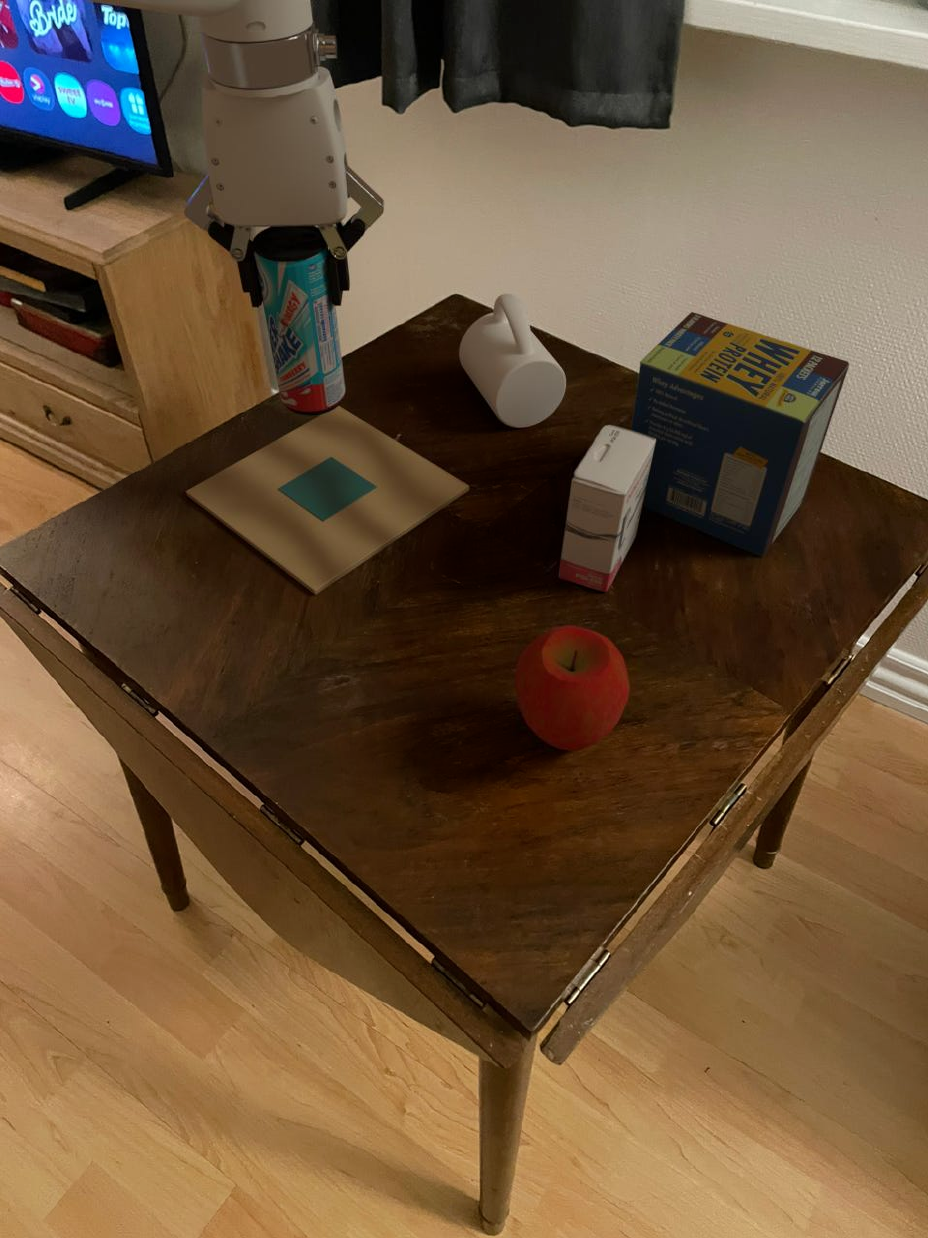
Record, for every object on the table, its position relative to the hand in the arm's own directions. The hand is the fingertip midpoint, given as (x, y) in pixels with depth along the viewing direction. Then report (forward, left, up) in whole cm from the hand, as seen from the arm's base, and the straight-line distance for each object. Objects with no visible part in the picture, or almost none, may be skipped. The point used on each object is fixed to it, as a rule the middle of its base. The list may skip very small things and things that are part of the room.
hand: (298, 296), depth 77 cm
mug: (+19, +15, -21) cm, 32 cm away
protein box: (+38, -2, -21) cm, 44 cm away
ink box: (+26, -10, -21) cm, 35 cm away
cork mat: (0, 0, -21) cm, 21 cm away
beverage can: (0, 0, -10) cm, 10 cm away
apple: (+21, -30, -21) cm, 42 cm away
